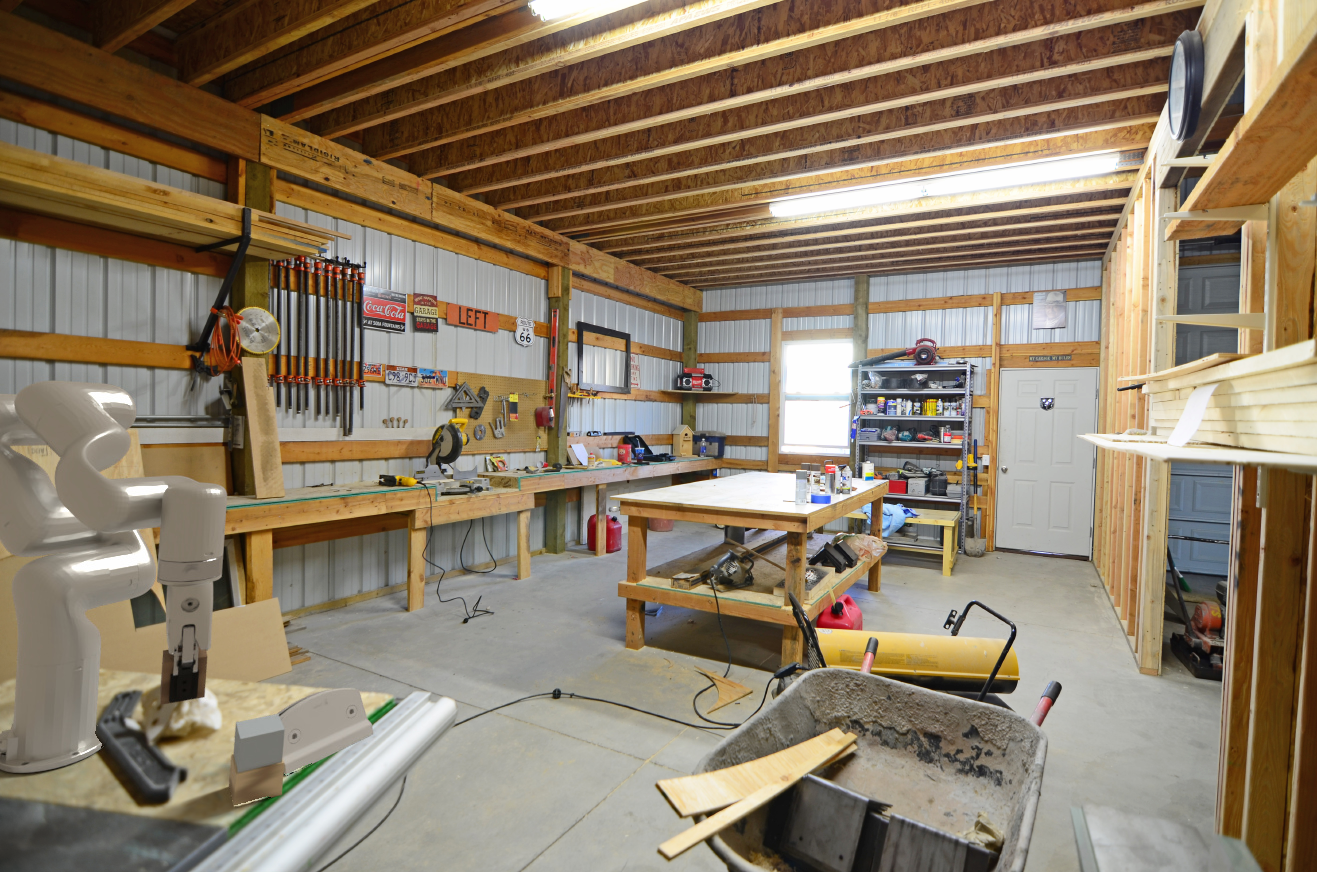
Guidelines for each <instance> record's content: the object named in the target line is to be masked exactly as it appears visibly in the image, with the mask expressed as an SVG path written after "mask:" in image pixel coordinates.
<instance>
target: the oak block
mask: <svg viewBox="0 0 1317 872" xmlns="http://www.w3.org/2000/svg"><path fill="white" fill-rule="evenodd" d="M228 783H229V784H228V788H229V787H230V789H229V792H230V791H231V794H230V796H231V795H232V798H231V801H232V800H233V803H232V806H233V805H238V804H241V803H246V802H248V801H252V800H255V799H259V798H262V797H266V796H267V797H268V796H269V797H271V798H275V797H277V796H282V795H283V784H284V761H283V758H282V762H280V763H276V764H272V765H268V766H264V767H261V768H257V769H253V770H249V771H245V772H241V773H238V771H237V767H236V763H235V759H234V753H233V754H231V755H230V767H229V780H228ZM271 798H270V799H271Z"/></svg>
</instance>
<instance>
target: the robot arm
mask: <svg viewBox="0 0 1317 872" xmlns="http://www.w3.org/2000/svg"><path fill="white" fill-rule="evenodd" d="M136 418H137V406H136V402H135V400H134V398H132V395H130V393H128V391H126V390H125V389H124V388H121V387H119V386H118V385H113V384H110V383H101V382H99V383H98V382H88V381H87V382H86V381H72V380H71V381H69V380H42V381H38V382H34V383H31V384H29V385H27V386H25V387H24V388H22V389H21V390H19V392H18V393H15V394H13V393H0V543H1V544H2V545H3V546H2V547H4V548H5V550H6V551H7V552H8V553H10V554H11V555H13V556H15V557H19V558H20V557H21V558H32V557H33V558H34V557H38V558H35V559H33V560H31V561H29V562H27V563H25V564H24V565H23V566H21V567H20V568H19V569H18V570H17V571H16V573H15V574H14V576H13V579H12V582H11V595H12V600H13V605H14V609H15V615H16V625H17V651H16V676H15V691H14V706H13V707H14V708H13V722H12V724H11V726H10V728H9V729H6V730H2V731H1V733H0V770H1V771H3V772H6V773H15V774H17V773H18V774H25V773H38V772H44V771H49V770H53V769H58V768H61V767H65V766H68V765H72V764H74V763H77V762H79V761H81V760H84V759H86V758H87V757H90V756H92V755H93V754H95V753H97V752H98V751H99V750H101V749H102V748H101V746H102V743H101V742H100V741H99V739H98V738H97V736H96V734H95V731H96V725H97V713H98V712H97V711H98V700H99V697H98V696H99V682H100V669H101V668H100V667H101V655H102V654H101V650H102V636H101V632H100V630H99V628H98V627H97V626H96V624H94V623H93V622H92V621H91V620H90V619H89V618H88V617H87V615H86V612H87V611H89V610H92V609H95V608H96V609H97V608H100V607H103V606H107V605H111V604H115V603H116V604H117V603H120V602H124V601H129V600H132V599H134V598H138V597H140V596H142V595H144V594H146V593H147V592H148V591H150V590H151V589H152V587H153V586H154V584H155V582H157V583H159V584H160V585H165V586H166V604H165V606H166V607H165V608H166V609H165V628H166V630H165V631H166V641H167V648H168V649H167V650H169V653H170V654H171V655H174V664H173V674H171V676H170V691H169V702H170V703H169V704H173V702H175V703H179V701H180V702H185V700H186V701H190V699H192V700H196V699H195V698H196V697H197V694H198V679H199V670H198V652H199V650H198V649H199V646H200V648H201V650H203V649H205V651H206V652H207V651H209V650H210V649H211V647H212V629H213V628H212V627H213V609H214V582H215V581H218V580H220V579H221V578H222V577H223V576H222V575H223V560H224V548H225V547H224V545H225V535H226V534H225V533H226V532H225V531H226V519H227V506H228V505H227V503H228V501H227V500H228V493H227V490H226V488H224V486H222V485H221V484H217V483H211V482H201V481H200V482H199V481H197V480H195V479H192V478H191V477H187V476H184V475H158V476H156V475H155V476H141V477H123V478H108V477H106V476H105V475H103V474H102V473H101V472H104V471H105V470H107V469H109V468H111V467H112V466H116V464H117V463H119V462H121V460H122V459H123V458H124V457H125V456H126V455H127V454H128V452H129V450H130V447H131V444H132V439H131V436H130V433H129V432H128V430H129V429H130V428H131V427H132V426H133V425H134V423H135V421H136ZM20 446H21V447H23V446H26V447H29V446H30V447H31V446H34V447H35V446H47V447H49V449H50V450H52V451H53V453H55V454H56V455H57V456H58V457H59V460H58V462H57V465H56V467H55V470H54V484H53V481H52V480H51V478H50V476H49V474H48V472H47V471H46V470H45V469H44V468H43V467H42V466H41V465H40V464H38V463H37V462H35V461H34V460H33V459H31V458H30V457H28V456H26V455H24V454H21V453H20V452H18V451H16V450H14V449H13V448H12V447H20ZM152 528H160V529H159V539H158V540H159V543H158V544H159V545H158V556H157V557H158V558H157V567H156V562H155V560H154V556H153V554H152V552H151V550H150V549H149V546H148V544H147V543H146V541H145V539H144V538H143V535H142V533H141V532H140V530H144V529H152ZM194 646H195V649H194V650H193V648H194ZM178 648H182V651H179V652H178ZM179 656H182V660H179Z"/></svg>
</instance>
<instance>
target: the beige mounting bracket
mask: <svg viewBox="0 0 1317 872" xmlns="http://www.w3.org/2000/svg"><path fill="white" fill-rule="evenodd" d="M364 706H365V705H364V702H363V698H362V695H361V692H360V690H359V689H357V688H350V687H348V688H347V687H346V688H345V687H341V688H332V689H326V690H321V691H318V692H315V693H312V694H309V695H307V696H305V697H303V698H300V699H299V700H296V701H295V702H292V703H291V704H289V705H287V706H286V707H284V708H283V709H281V710H280V711H279V712H277V713H276V714H279V717H280V719H281V722H282V724H283V727H284V729H285V731H284V744H283V757H282V758H283V761H284V772H283V774H284V773H285V774H287V773H290V772H292V771H294V770H296V769H298V768H301V767H302V766H305V765H308V764H311V763H312V764H311V765H313V764H315V763H317V762H319V761H321V760H324V759H326V758H327V757H329V756H331V755H334V754H335V753H337V752H340V751H342V750H344V749H346V748H348V747H350V746H352V745H354V744H356V743H358V742H360V741H362V740H364V739H366V738H368V737H370V736H373V735H374V729H373V724H372V722H371V721H370V720H369V719H368V716H367V713H366V710H365V707H364Z"/></svg>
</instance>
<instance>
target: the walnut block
mask: <svg viewBox="0 0 1317 872" xmlns="http://www.w3.org/2000/svg"><path fill="white" fill-rule="evenodd" d="M194 649H195V646H194V648H193V650H194ZM198 650H199V652H198V670H199V679H198V694H197V697H196V698H195V699H194V700H197V699H203V698H205V696H206V682H207V681H206V680H207V667H208V652H207V651H205V649H203V650H201V648H200V646H199V649H198ZM179 651H182V648H178V652H179ZM161 660H162V661H161V673H160V676H161V677H160V688H159V689H160V691H159V694H160V696H159V697H160V702H159V703H160V706H162V705H168V704H171V703H170V702H169V691H170V676H171V674H173V664H174V655H171V654H170V653H169V650H168V649H165V650H162V658H161ZM179 660H182V656H179ZM190 700H192V701H193V699H190ZM190 700H189V701H190ZM185 701H187V700H185ZM185 701H184V702H185ZM179 702H181V701H179ZM179 702H178V703H179ZM173 703H176V702H173ZM173 703H172V704H173Z"/></svg>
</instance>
